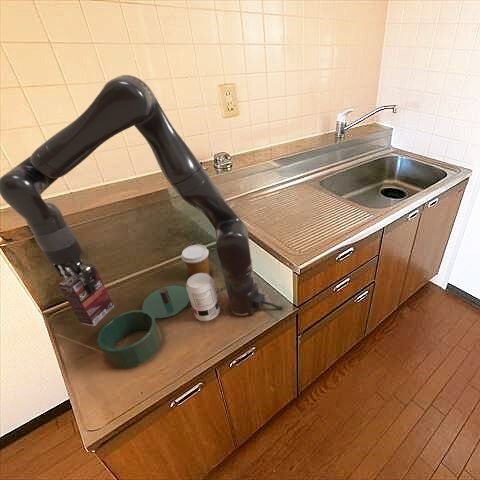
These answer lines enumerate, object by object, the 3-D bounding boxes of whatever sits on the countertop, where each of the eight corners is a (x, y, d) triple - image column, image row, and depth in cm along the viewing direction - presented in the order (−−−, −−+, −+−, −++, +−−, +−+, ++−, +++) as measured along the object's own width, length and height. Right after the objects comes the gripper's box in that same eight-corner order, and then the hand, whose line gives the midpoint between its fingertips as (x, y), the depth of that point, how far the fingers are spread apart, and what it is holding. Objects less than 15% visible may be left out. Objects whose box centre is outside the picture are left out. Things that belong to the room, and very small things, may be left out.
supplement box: (94, 327, 94) (71, 287, 85) (81, 324, 94) (56, 285, 85) (116, 306, 101) (96, 267, 92) (102, 303, 101) (81, 265, 92)
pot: (172, 335, 100) (165, 317, 95) (136, 375, 88) (126, 357, 84) (136, 322, 104) (127, 305, 99) (96, 359, 92) (85, 341, 88)
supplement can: (190, 318, 105) (179, 285, 97) (205, 301, 112) (196, 269, 103) (210, 325, 103) (201, 292, 95) (225, 307, 110) (217, 274, 101)
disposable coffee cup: (203, 287, 118) (196, 261, 111) (182, 280, 121) (174, 255, 114) (218, 271, 125) (213, 247, 118) (198, 265, 128) (192, 241, 121)
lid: (200, 293, 115) (196, 281, 112) (170, 325, 103) (165, 312, 99) (165, 283, 119) (161, 271, 116) (132, 313, 107) (126, 300, 104)
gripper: (23, 244, 81) (54, 292, 91) (64, 256, 77) (92, 305, 87) (52, 229, 87) (79, 276, 96) (91, 239, 83) (115, 287, 92)
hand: (85, 289), depth 91 cm, fingers closed on supplement box, 5 cm apart
